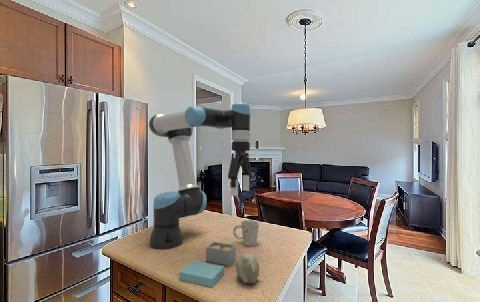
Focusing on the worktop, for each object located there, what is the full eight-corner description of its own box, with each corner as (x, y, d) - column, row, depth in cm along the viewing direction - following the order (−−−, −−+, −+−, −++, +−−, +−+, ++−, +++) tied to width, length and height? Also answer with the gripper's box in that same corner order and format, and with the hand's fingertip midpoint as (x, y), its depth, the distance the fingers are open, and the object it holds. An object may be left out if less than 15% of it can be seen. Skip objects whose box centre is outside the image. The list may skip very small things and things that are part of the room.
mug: (257, 247, 111) (257, 225, 111) (230, 245, 113) (230, 224, 113) (259, 241, 119) (259, 220, 119) (234, 239, 122) (234, 219, 121)
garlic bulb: (253, 294, 80) (255, 270, 76) (229, 284, 83) (230, 261, 79) (262, 272, 88) (264, 250, 84) (240, 264, 91) (242, 243, 87)
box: (205, 262, 96) (206, 247, 96) (213, 255, 103) (213, 241, 102) (229, 266, 93) (229, 251, 93) (235, 259, 99) (235, 244, 99)
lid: (179, 279, 83) (179, 271, 83) (193, 267, 92) (193, 260, 92) (212, 287, 79) (212, 279, 79) (223, 274, 87) (224, 266, 87)
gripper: (238, 140, 87) (237, 199, 88) (258, 142, 111) (257, 188, 111) (219, 140, 90) (218, 197, 90) (242, 142, 113) (242, 187, 114)
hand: (240, 192), depth 101 cm, fingers open, 13 cm apart
